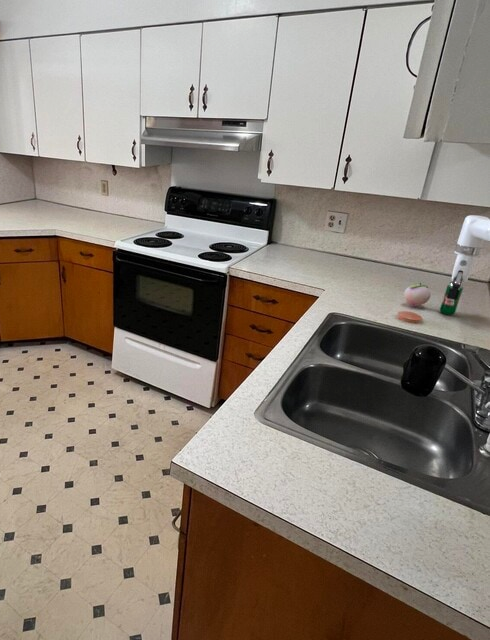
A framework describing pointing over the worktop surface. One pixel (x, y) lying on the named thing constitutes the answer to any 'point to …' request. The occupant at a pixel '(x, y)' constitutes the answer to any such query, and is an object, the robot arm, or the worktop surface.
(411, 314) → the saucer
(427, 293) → the decorative fruit
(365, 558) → the worktop surface
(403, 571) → the worktop surface
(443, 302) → the soda can
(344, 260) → the worktop surface
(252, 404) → the worktop surface
